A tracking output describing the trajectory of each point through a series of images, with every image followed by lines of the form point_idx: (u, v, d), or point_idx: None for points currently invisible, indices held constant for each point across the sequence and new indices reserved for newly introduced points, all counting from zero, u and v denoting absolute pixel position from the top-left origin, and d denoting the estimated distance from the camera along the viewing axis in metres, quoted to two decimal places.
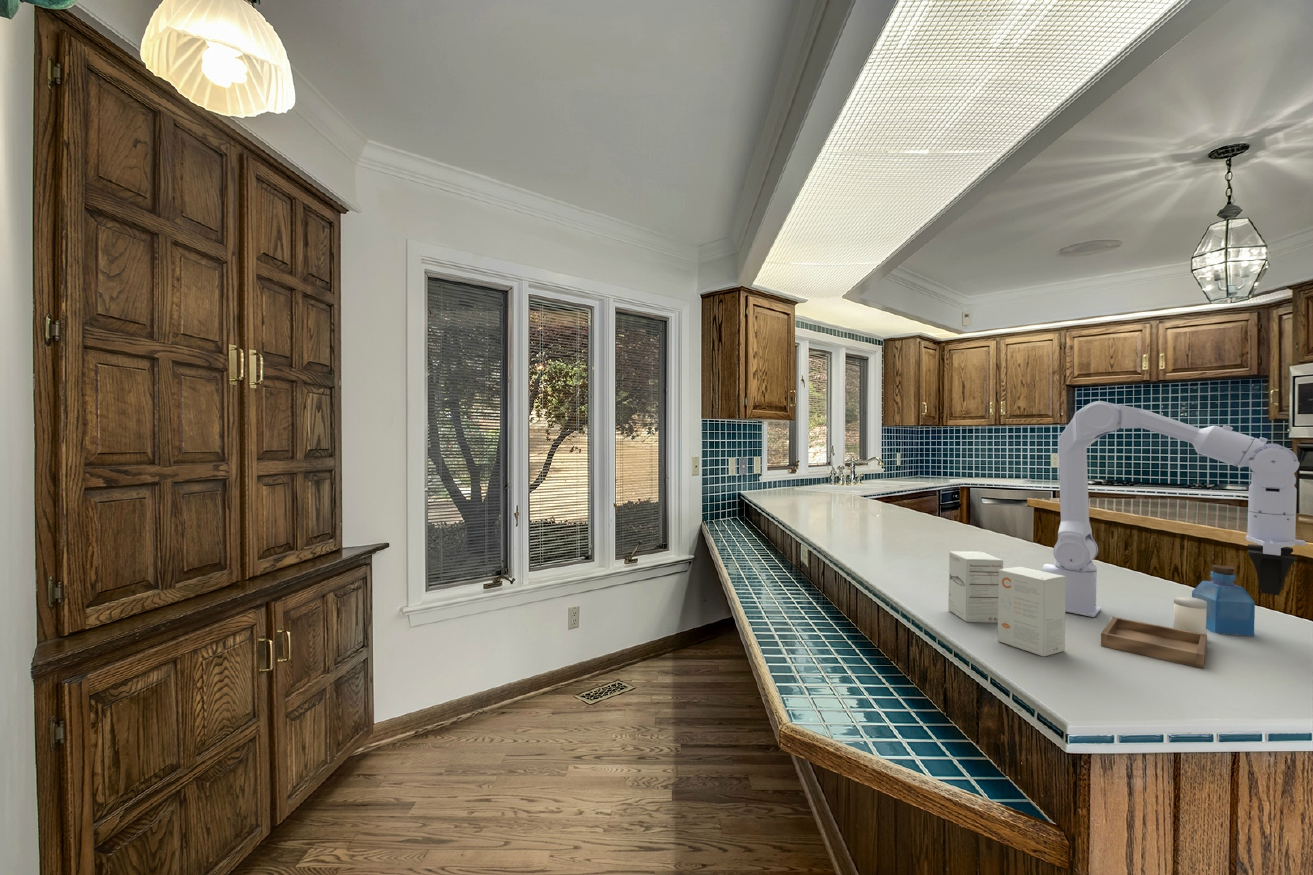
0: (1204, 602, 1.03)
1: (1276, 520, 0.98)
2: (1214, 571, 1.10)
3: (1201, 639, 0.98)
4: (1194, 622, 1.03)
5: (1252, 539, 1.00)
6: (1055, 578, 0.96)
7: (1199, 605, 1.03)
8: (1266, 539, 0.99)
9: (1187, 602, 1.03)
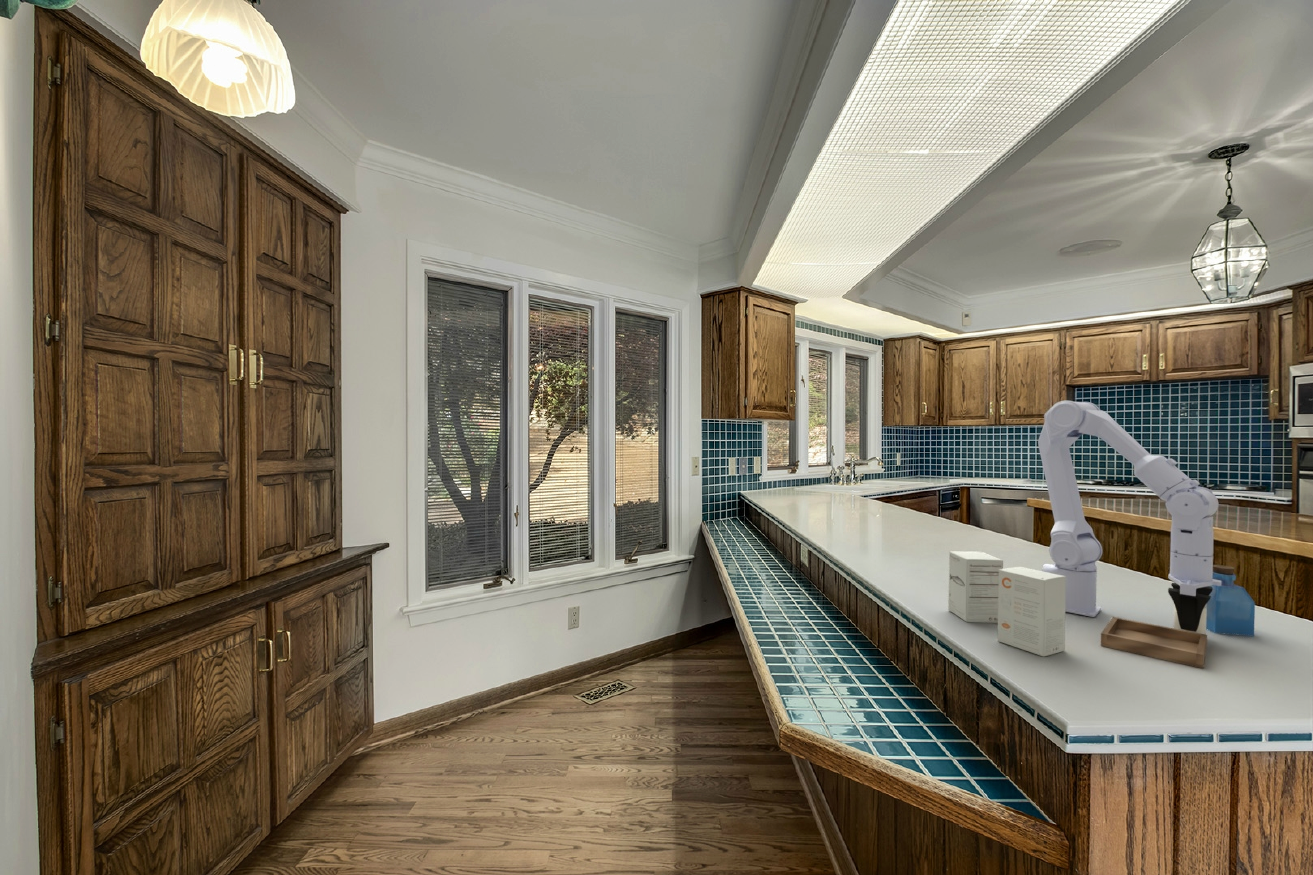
0: None
1: (1194, 561, 1.02)
2: (1214, 571, 1.10)
3: (1201, 639, 0.98)
4: None
5: (1172, 578, 1.04)
6: (1055, 578, 0.96)
7: None
8: (1185, 579, 1.03)
9: None
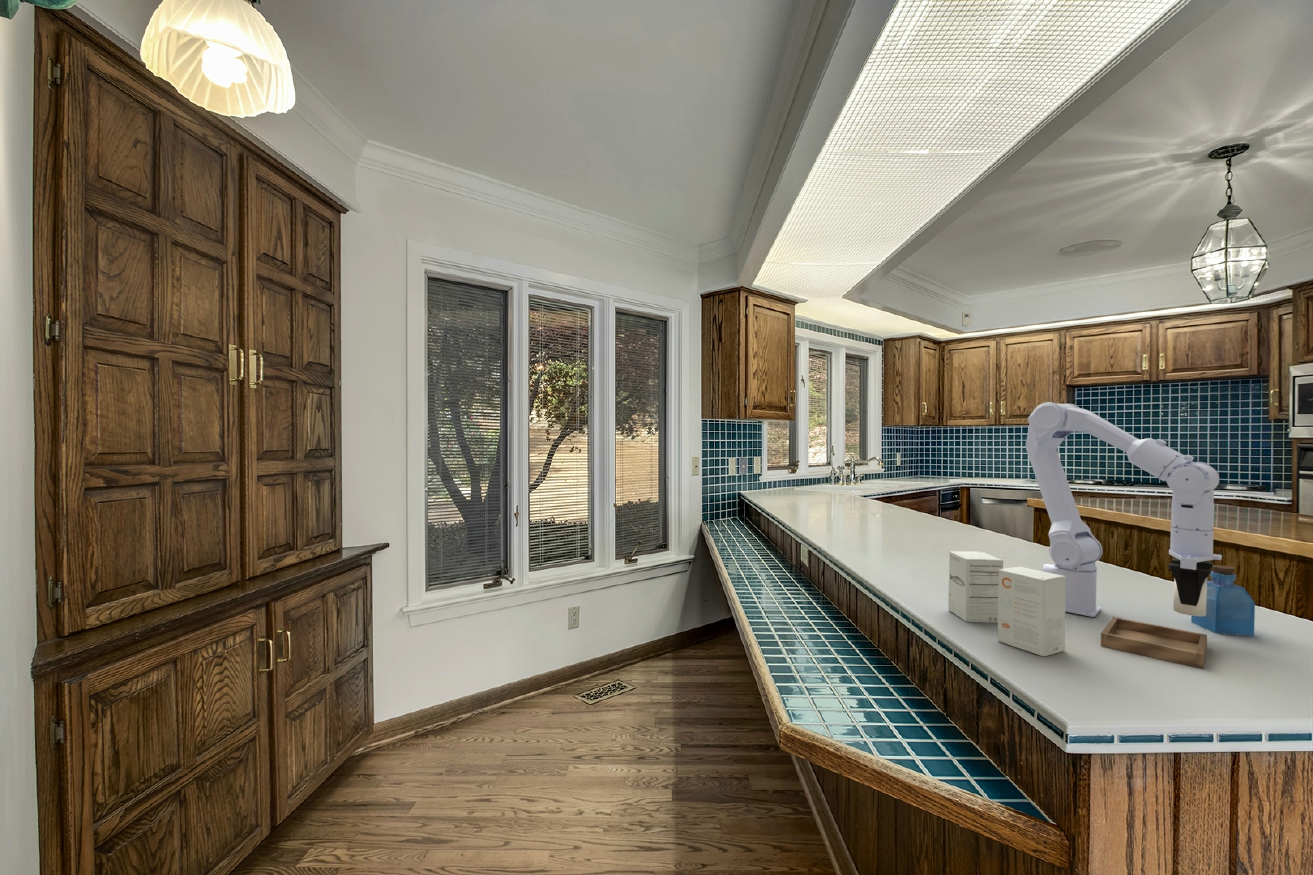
0: None
1: (1194, 536, 1.02)
2: (1214, 571, 1.10)
3: (1201, 639, 0.98)
4: None
5: (1173, 553, 1.04)
6: (1055, 578, 0.96)
7: None
8: (1185, 554, 1.03)
9: None
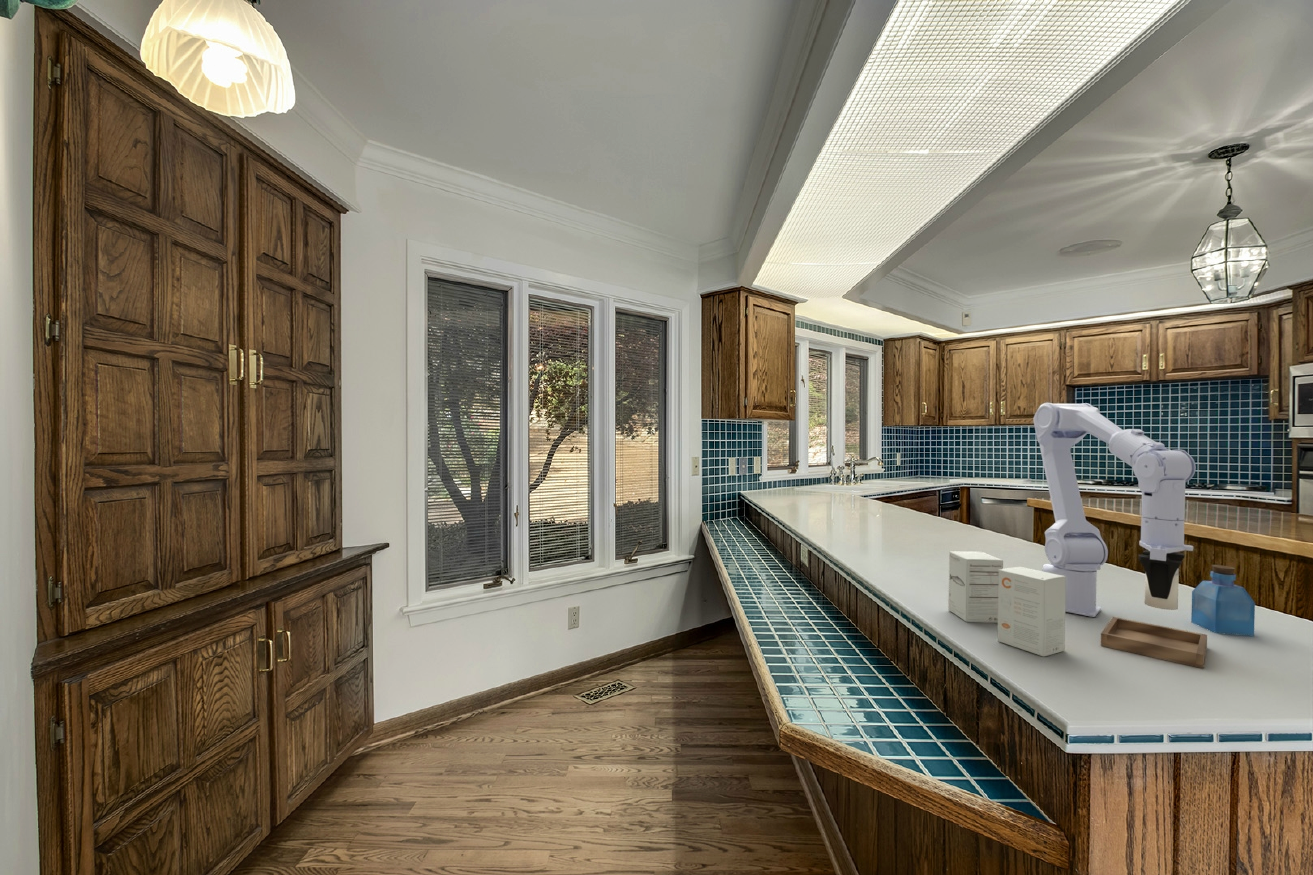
0: None
1: (1165, 526, 0.98)
2: (1214, 571, 1.10)
3: (1201, 639, 0.98)
4: None
5: (1143, 544, 1.00)
6: (1055, 578, 0.96)
7: None
8: (1156, 544, 0.99)
9: None
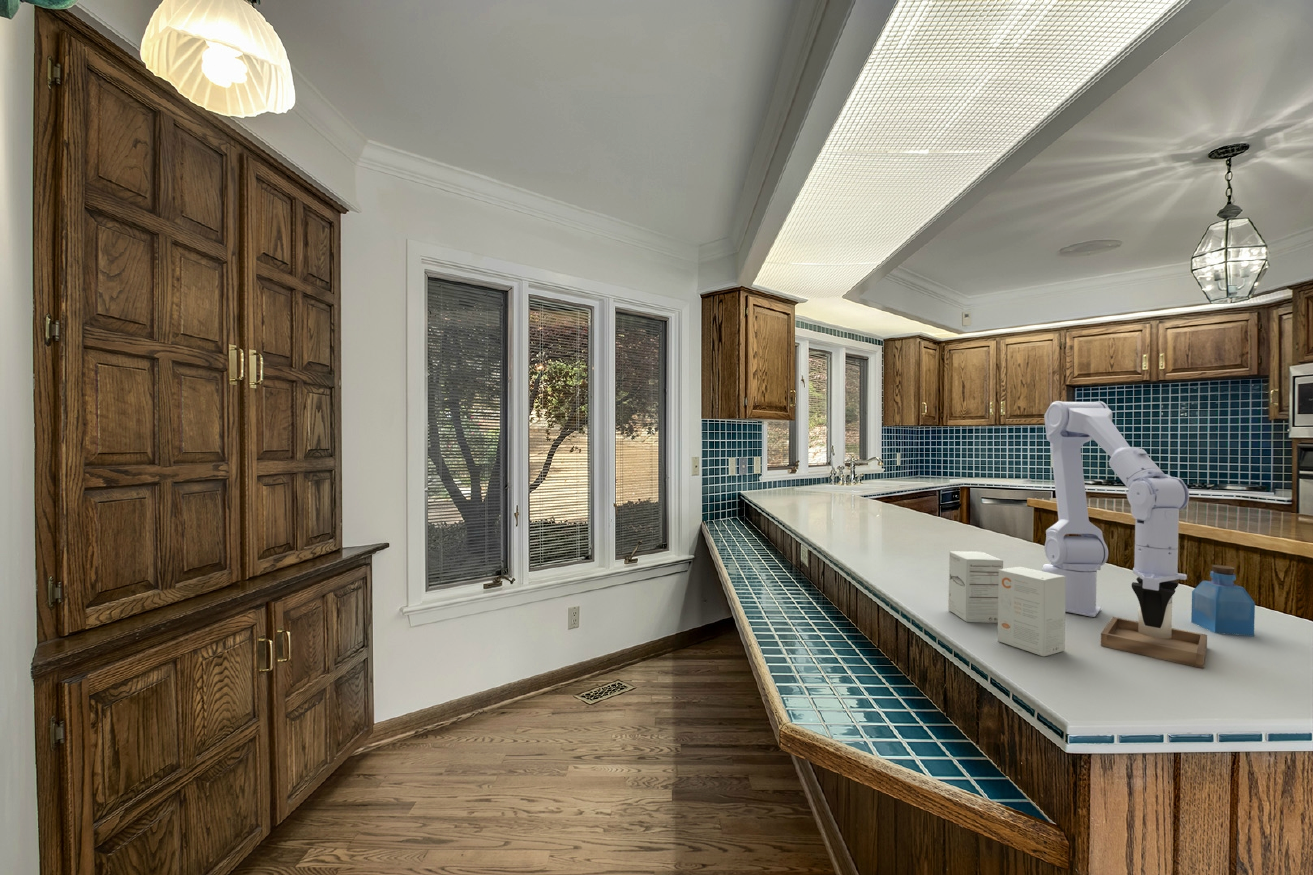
0: None
1: (1158, 554, 0.98)
2: (1214, 571, 1.10)
3: (1201, 639, 0.98)
4: None
5: (1136, 572, 1.00)
6: (1055, 578, 0.96)
7: None
8: (1149, 573, 0.98)
9: None
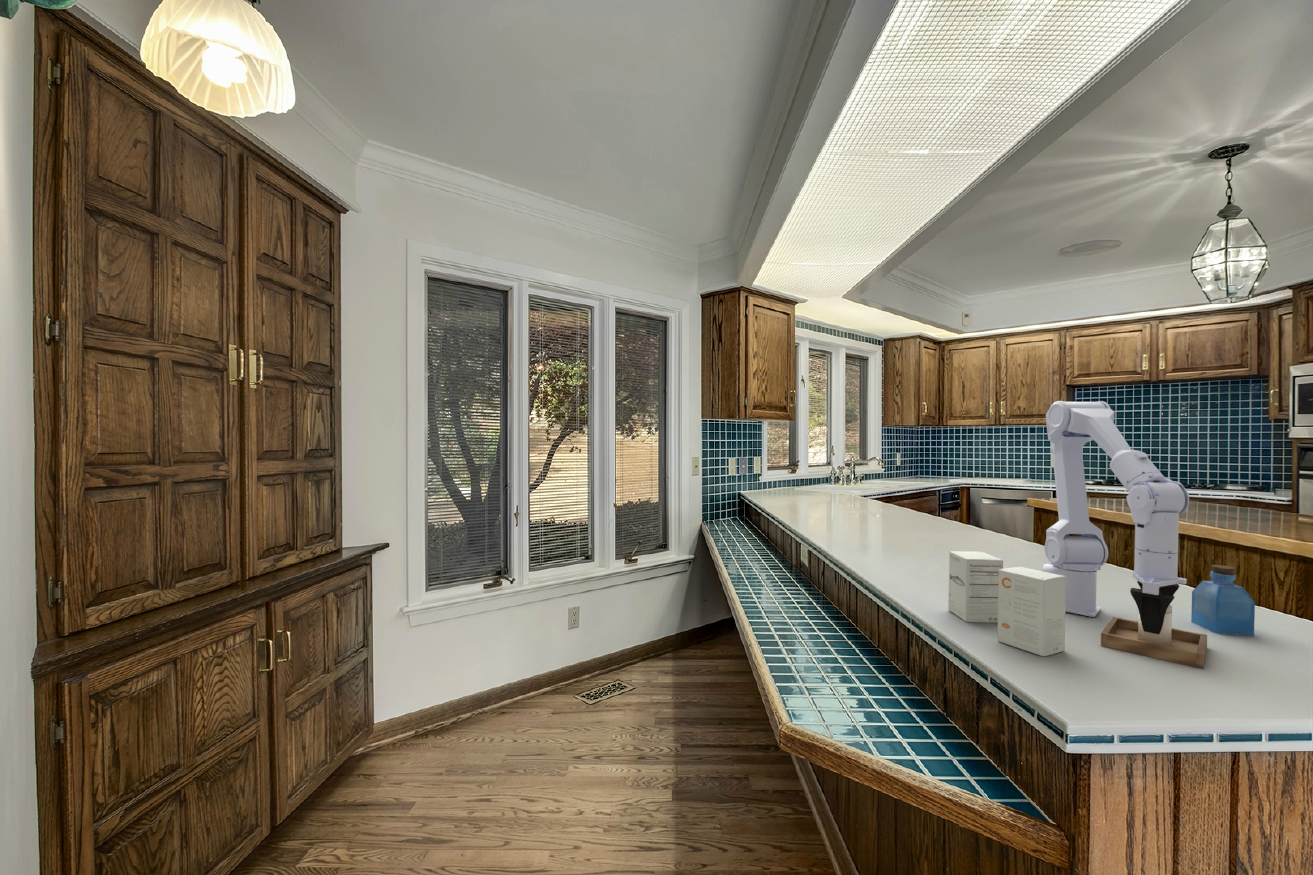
0: (1169, 607, 0.98)
1: (1158, 558, 0.98)
2: (1214, 571, 1.10)
3: (1201, 639, 0.98)
4: None
5: (1136, 576, 1.00)
6: (1055, 578, 0.96)
7: None
8: (1149, 577, 0.98)
9: None
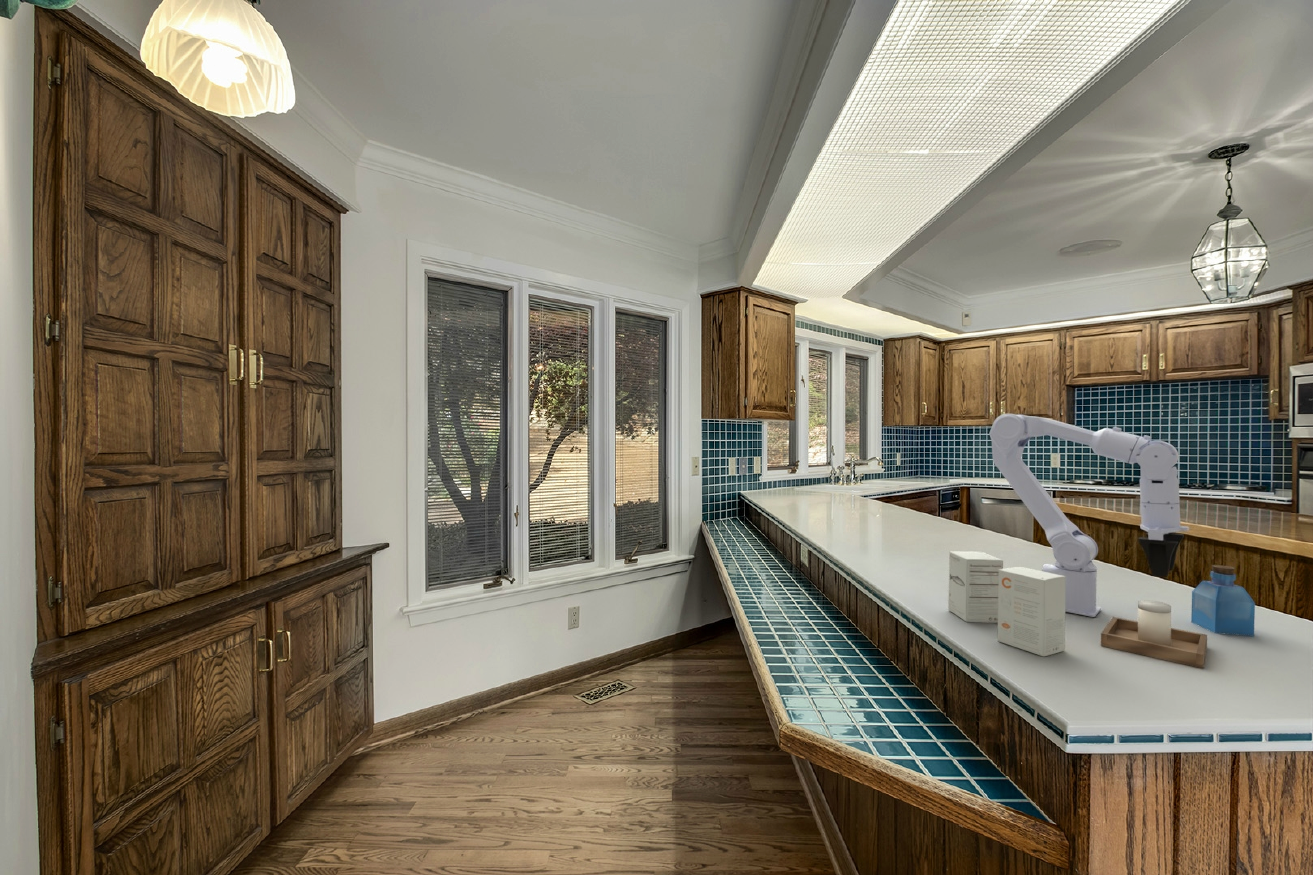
0: (1168, 606, 0.98)
1: (1161, 509, 1.09)
2: (1214, 571, 1.10)
3: (1201, 639, 0.98)
4: (1158, 628, 0.98)
5: (1143, 527, 1.10)
6: (1055, 578, 0.96)
7: (1163, 610, 0.98)
8: (1154, 526, 1.09)
9: (1151, 607, 0.99)
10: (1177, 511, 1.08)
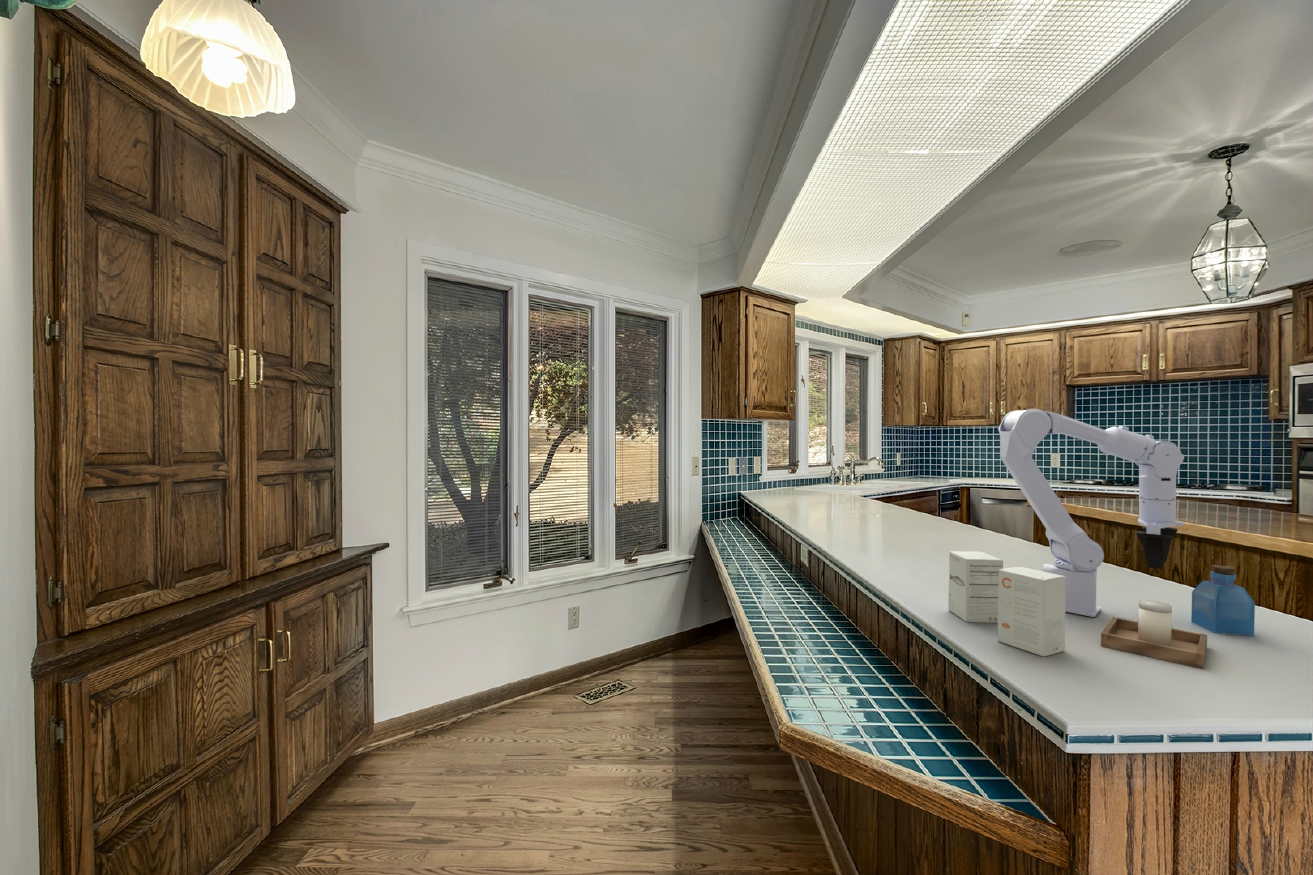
0: (1169, 606, 0.98)
1: (1159, 505, 1.15)
2: (1214, 571, 1.10)
3: (1201, 639, 0.98)
4: (1159, 628, 0.98)
5: (1141, 521, 1.17)
6: (1055, 578, 0.96)
7: (1164, 609, 0.98)
8: (1151, 521, 1.16)
9: (1152, 606, 0.99)
10: (1173, 507, 1.14)
